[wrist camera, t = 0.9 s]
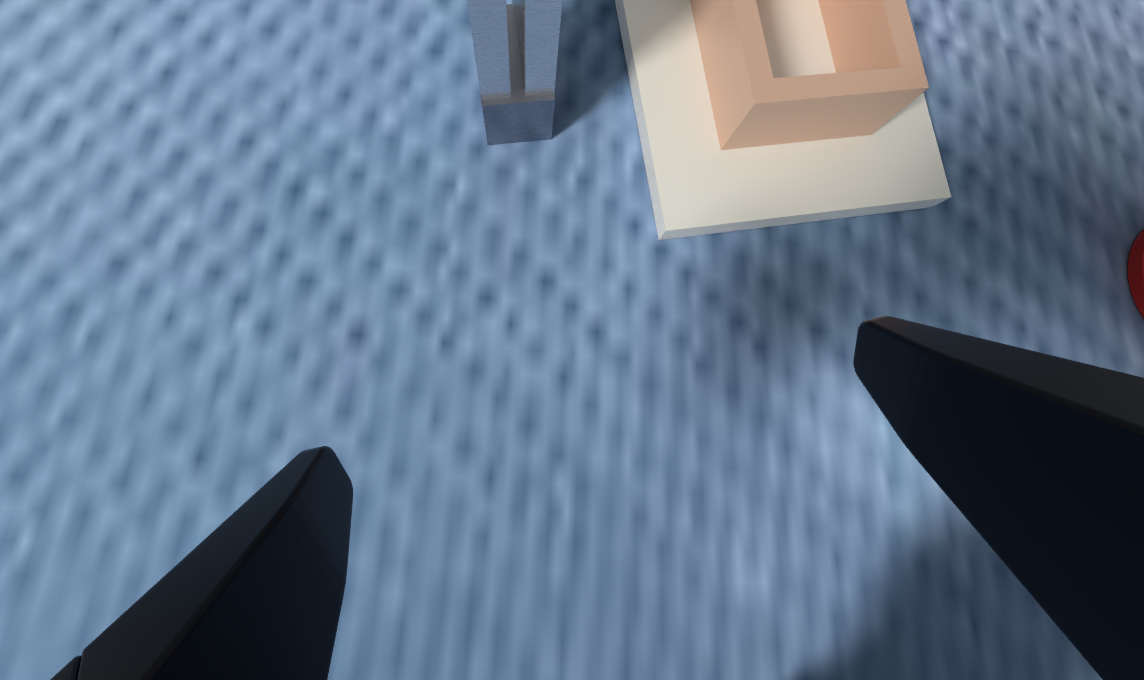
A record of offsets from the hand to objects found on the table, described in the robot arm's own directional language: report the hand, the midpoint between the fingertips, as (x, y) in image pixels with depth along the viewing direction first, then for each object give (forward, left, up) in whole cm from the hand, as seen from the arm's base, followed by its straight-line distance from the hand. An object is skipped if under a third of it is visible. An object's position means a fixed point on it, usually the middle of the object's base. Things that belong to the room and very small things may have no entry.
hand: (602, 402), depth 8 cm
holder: (+1, -20, -14) cm, 24 cm away
